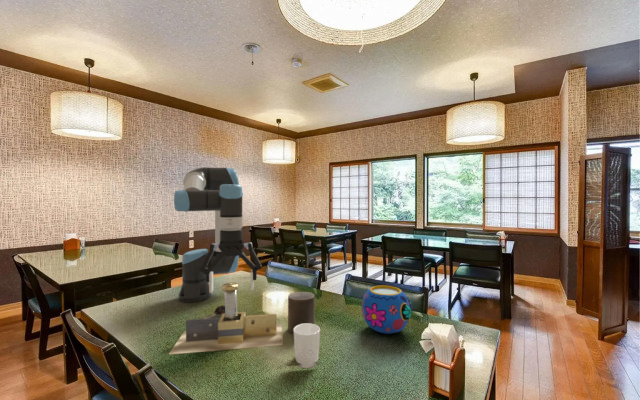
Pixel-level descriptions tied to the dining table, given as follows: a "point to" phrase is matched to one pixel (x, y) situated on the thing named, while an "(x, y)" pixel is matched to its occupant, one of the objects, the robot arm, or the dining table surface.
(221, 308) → the branch with fungus
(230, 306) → the hinge pin
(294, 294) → the pillar candle
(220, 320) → the hinge
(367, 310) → the ceramic pot
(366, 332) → the dining table surface
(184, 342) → the mounting board
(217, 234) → the robot arm
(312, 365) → the white cup
